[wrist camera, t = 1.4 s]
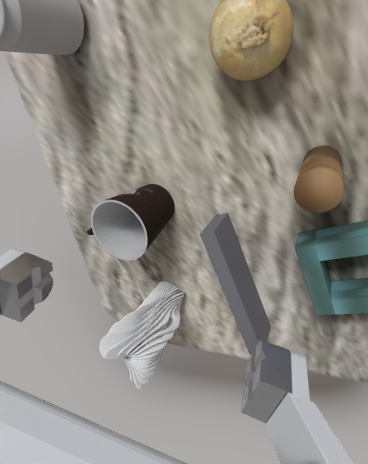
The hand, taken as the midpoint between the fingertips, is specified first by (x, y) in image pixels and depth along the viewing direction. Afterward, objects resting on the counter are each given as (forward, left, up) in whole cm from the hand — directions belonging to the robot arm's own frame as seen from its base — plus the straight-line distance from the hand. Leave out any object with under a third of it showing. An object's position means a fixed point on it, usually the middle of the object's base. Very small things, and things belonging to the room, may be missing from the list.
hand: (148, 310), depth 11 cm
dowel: (-4, +3, -30) cm, 31 cm away
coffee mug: (+21, +1, -30) cm, 37 cm away
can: (+21, -25, -30) cm, 44 cm away
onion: (-1, -12, -30) cm, 33 cm away
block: (-5, +16, -30) cm, 35 cm away
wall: (+10, +16, -30) cm, 36 cm away
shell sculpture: (+24, +18, -30) cm, 43 cm away
